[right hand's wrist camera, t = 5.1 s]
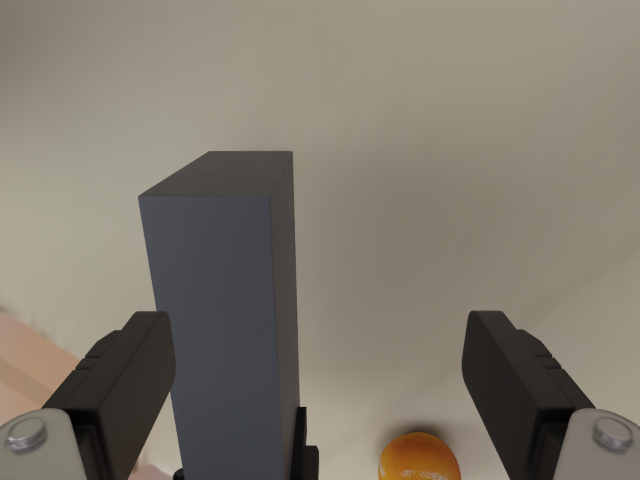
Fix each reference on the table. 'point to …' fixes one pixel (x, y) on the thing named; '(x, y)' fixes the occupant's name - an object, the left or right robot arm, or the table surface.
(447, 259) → the table surface
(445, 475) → the fruit
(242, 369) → the box
